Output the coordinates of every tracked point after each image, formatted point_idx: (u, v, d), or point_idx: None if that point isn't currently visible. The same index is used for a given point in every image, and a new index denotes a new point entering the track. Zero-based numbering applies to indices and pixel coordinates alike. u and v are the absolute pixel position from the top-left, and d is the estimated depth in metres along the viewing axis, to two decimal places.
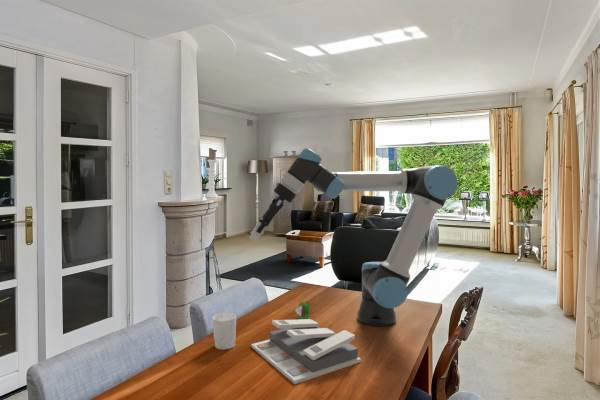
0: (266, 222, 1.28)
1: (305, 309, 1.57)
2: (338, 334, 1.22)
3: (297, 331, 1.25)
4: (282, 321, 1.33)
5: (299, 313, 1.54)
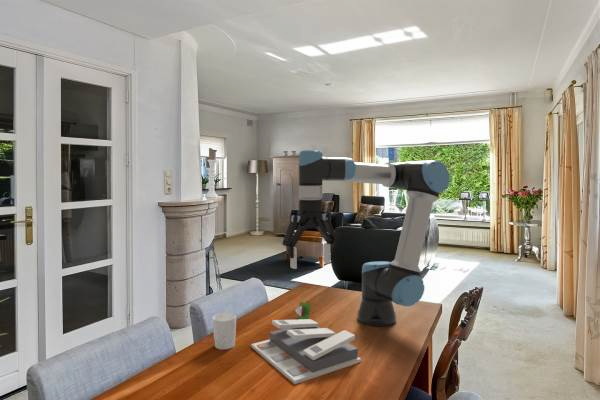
0: (284, 243, 1.20)
1: (305, 309, 1.57)
2: (338, 334, 1.22)
3: (297, 331, 1.25)
4: (282, 321, 1.33)
5: (299, 313, 1.54)
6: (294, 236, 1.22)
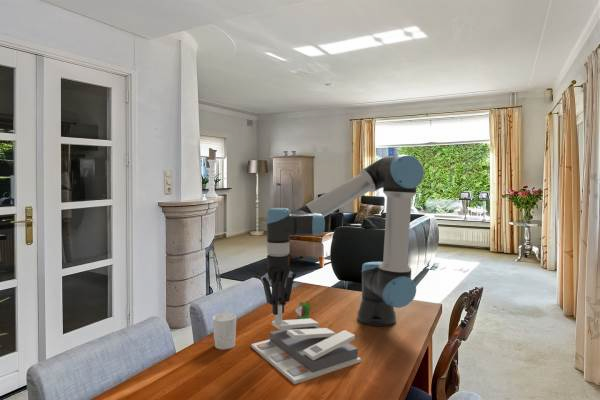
0: (269, 302, 1.29)
1: (305, 309, 1.57)
2: (338, 334, 1.22)
3: (297, 331, 1.25)
4: (282, 322, 1.33)
5: (299, 313, 1.54)
6: (273, 294, 1.30)
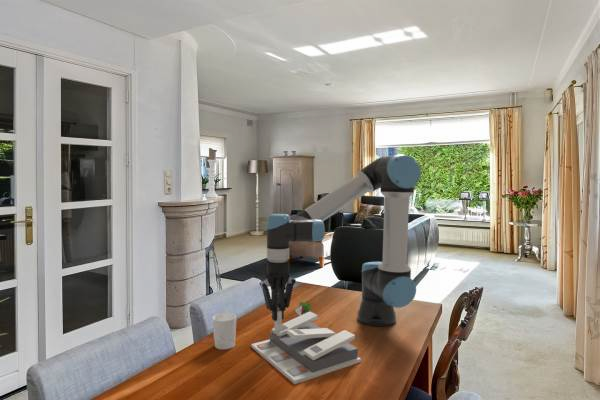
0: (268, 308, 1.30)
1: (305, 309, 1.57)
2: (338, 334, 1.22)
3: (297, 331, 1.25)
4: None
5: (299, 313, 1.54)
6: (273, 300, 1.30)
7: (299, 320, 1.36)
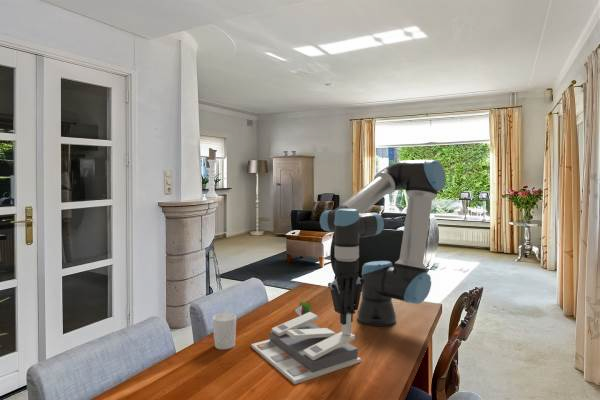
0: (337, 310, 1.20)
1: (305, 309, 1.57)
2: (338, 334, 1.22)
3: (297, 331, 1.25)
4: (281, 327, 1.33)
5: (299, 313, 1.54)
6: (341, 302, 1.20)
7: (299, 320, 1.36)
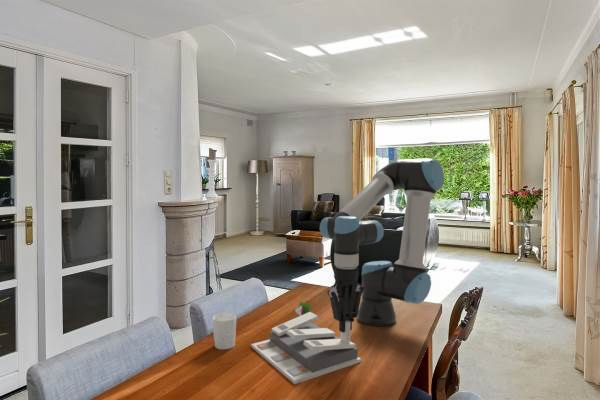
0: (336, 318, 1.19)
1: (305, 309, 1.57)
2: (338, 340, 1.23)
3: (297, 331, 1.25)
4: (281, 327, 1.33)
5: (299, 313, 1.54)
6: (341, 310, 1.20)
7: (299, 320, 1.36)
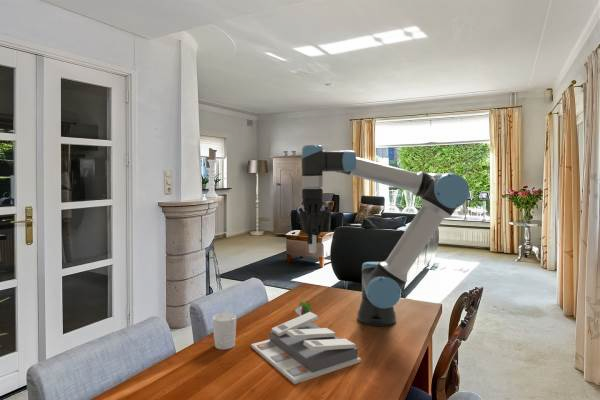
0: (304, 231, 1.40)
1: (305, 309, 1.57)
2: (338, 340, 1.23)
3: (297, 331, 1.25)
4: (281, 327, 1.33)
5: (299, 313, 1.54)
6: (308, 225, 1.41)
7: (299, 320, 1.36)
